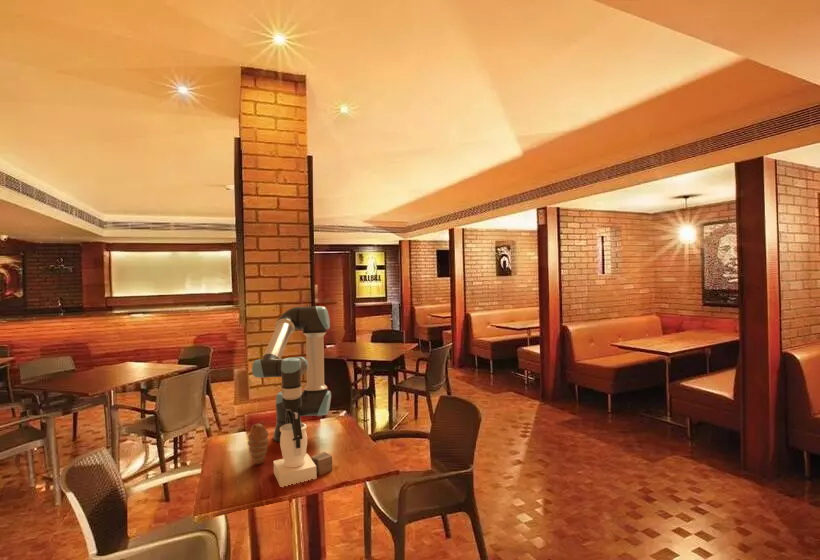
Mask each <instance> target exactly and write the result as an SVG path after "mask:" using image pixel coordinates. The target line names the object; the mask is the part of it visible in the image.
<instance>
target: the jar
mask: <svg viewBox="0 0 820 560" xmlns="http://www.w3.org/2000/svg"><path fill="white" fill-rule="evenodd" d="M300 424H301V431H302V437H303V438H302V439H301V453H302V455H300V456H296V457H294V441H293V438H294V434H293V429H292V424H290V423H289V424H285V425H283V426H281V427H280V432H281V436H280V442H279V445H280V451H281V455H282V459H284V460H285V461H284V466H286V467H290V468H291V467H298V466H301V465H303V464H304V463H305V459H304V457H305V455H306V453H307V447H308V435H307V430H306V429H308V428H307V427H308V426H307V423H304V422H302V423H300ZM297 437H298V436H297Z"/></svg>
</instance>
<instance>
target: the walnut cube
mask: <svg viewBox="0 0 820 560" xmlns="http://www.w3.org/2000/svg"><path fill="white" fill-rule="evenodd" d="M311 459H312V461H313V462H314V464H315V465H316V473H317V475H319V476H321V475H325V474H326V473H328V472H331V471H333V455H331V454H329V453H327V452H325V451H322V452H319V453H317V454H314V455H311Z"/></svg>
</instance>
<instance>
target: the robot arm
mask: <svg viewBox="0 0 820 560" xmlns="http://www.w3.org/2000/svg"><path fill="white" fill-rule="evenodd" d="M330 321H331V320H330V315H329V311H328V309H327V307H325V306H321V305H315V306H311V305H310V306H294V307H291V308H288V309H287V310H285V311H284V312H283V313H282V314H281V315H279V317H278V318H277V319H276V322H275V324H274V328H275V329H274V331H273V333H272V336H271V338H270V341H269V342H268V345H267V347H266V349H265V351H264V354H263V356H262V357H261V358H259V359H256V360H254V361H253V362H252V365H251V366H252V367H251V371H252V372H251V373H252V375H253V377H254V378H263V379H265V378H266V379H267V378H281V388H282V390H280V391H279V392H278V393H277V394H276V395H275V410H276V411H275V412H276V417H275V418H276V424H275V427H274V431H273V436H272V437H273V440H274V442H276V443H280V436H281V432H280V427H281V426H283V425H285V424H289V423H290V424H292V429H293V434H294V438H293V441H294V457H296V456H300V455H302V453H301V439H302V438H303V437H302V431H301V424H300V423H303V422H302V418H301V417H312V416H314V417H315V416H325V415H327V414H328V412H329V410H330V407H331V400H332V391H331V390H328V386H327V385H326V384H325V352H324V351H325V347H324V346H325V345H324V344H325V343H324V337H325V335H326V334H327V333H328V331H327V330H329V329H330V327H331V322H330ZM295 331H302V334H303V335H304V336H305V343H306V344H305V345H306V346H305V347H306V348H305V349H306V350H305V352H306V358H305V357H303V356H295V357H286V358H282V357H283V354H284V352H285V350H286V346H287V344H288V341H289V339H290V336H291V335H292V334H293V333H294V332H295ZM305 373H306V386H305V387H304V388H303V391H302V376H303V375H304V374H305ZM297 436H298V437H297Z"/></svg>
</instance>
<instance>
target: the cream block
mask: <svg viewBox="0 0 820 560" xmlns="http://www.w3.org/2000/svg"><path fill="white" fill-rule="evenodd" d="M304 459H305V463H304V464H303V465H301V466H298V467H291V468H290V467H286V466H284V461H285V460H284V459H283V458H280V459H276V460H273V474H274V477H275V478H276V480H277V483H278V485H279V487H282V488H285V487H284V486H286V487H289V486H288V485H290V486H292V485H291V484H293V485H297V484H301V483H305V482H308V480H309V481H312V480H311V479H313V480H316V479H317V478H318V477H317V475H318V474H317V473H316V465H315V464H314V462H313V461H312V457H311V456H310V455H309V454H308V453H307V452H306V455H305V457H304ZM304 481H305V482H304ZM300 482H301V483H300ZM296 483H297V484H296Z"/></svg>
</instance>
